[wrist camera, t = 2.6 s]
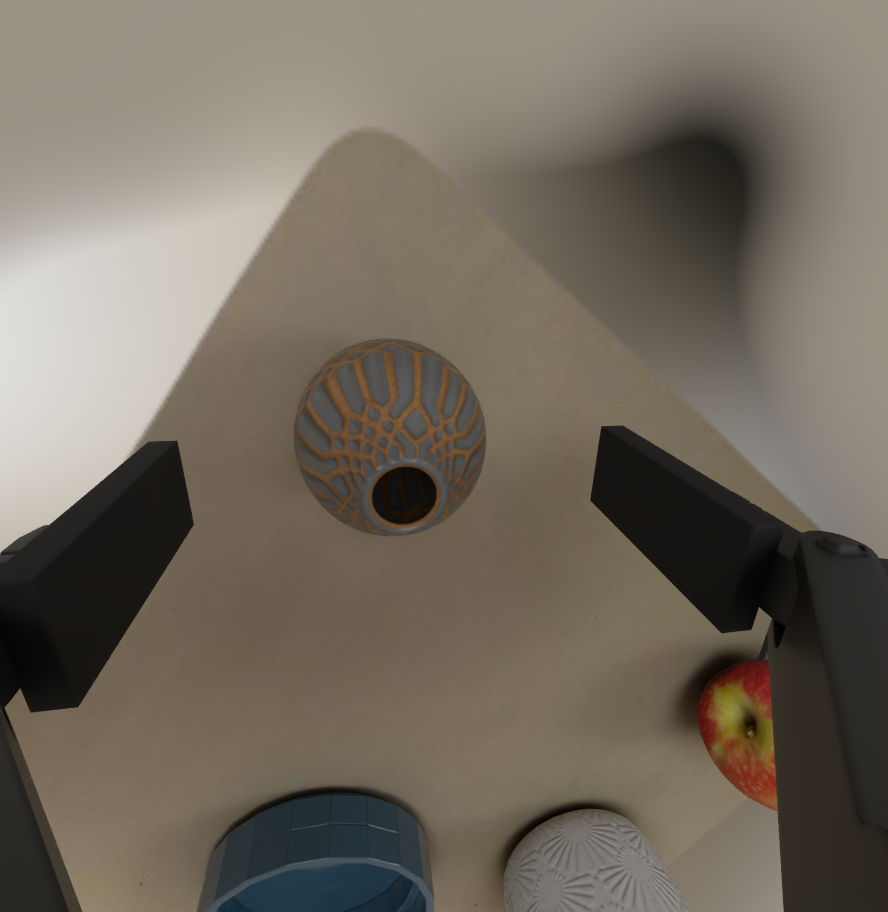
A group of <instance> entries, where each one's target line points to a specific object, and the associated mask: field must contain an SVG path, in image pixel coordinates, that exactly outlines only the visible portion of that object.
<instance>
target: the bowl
mask: <svg viewBox="0 0 888 912" xmlns="http://www.w3.org/2000/svg"><path fill="white" fill-rule="evenodd" d="M196 912H434V892H433V884H432V876H431V868H430V861H429V853H428V845H427V838H426V835H425V834H424V832H423V830H422V828H421V826H420V825H419V823H418V821H417V819H416V818H414V817H413V816H411V815H410V814H409V813H407V812H406V811H404V810H403V809H402V808H400V807H399V806H397V805H395V804H393V803H389V802H387V801H385V800H382V799H380V798H377V797H373V796H370V795H366V794H359V793H350V792H328V793H319V794H312V795H307V796H302V797H298V798H295V799H291V800H288V801H285V802H283V803H280V804H277V805H275V806H273V807H271V808H269V809H267V810H265V811H263V812H261V813H258V814H257V815H255V816H254V817H252V818H251V819H249V820H248V821H246V822H245V823H243V824H242V825H240V826H239V827H237V828H236V829H234V830H233V831H231V832H230V833H229V834H228V835H227V836H226V837H225V839H224V840H223V841H222V842H221V844H220V845H219V846H218V847H217V848H216V850H215V851H214V852H213V853H212V855H211V857H210V860H209V863H208V867H207V871H206V874H205V878H204V882H203V886H202V890H201V895H200V899H199V903H198V907H197V911H196Z"/></svg>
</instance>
